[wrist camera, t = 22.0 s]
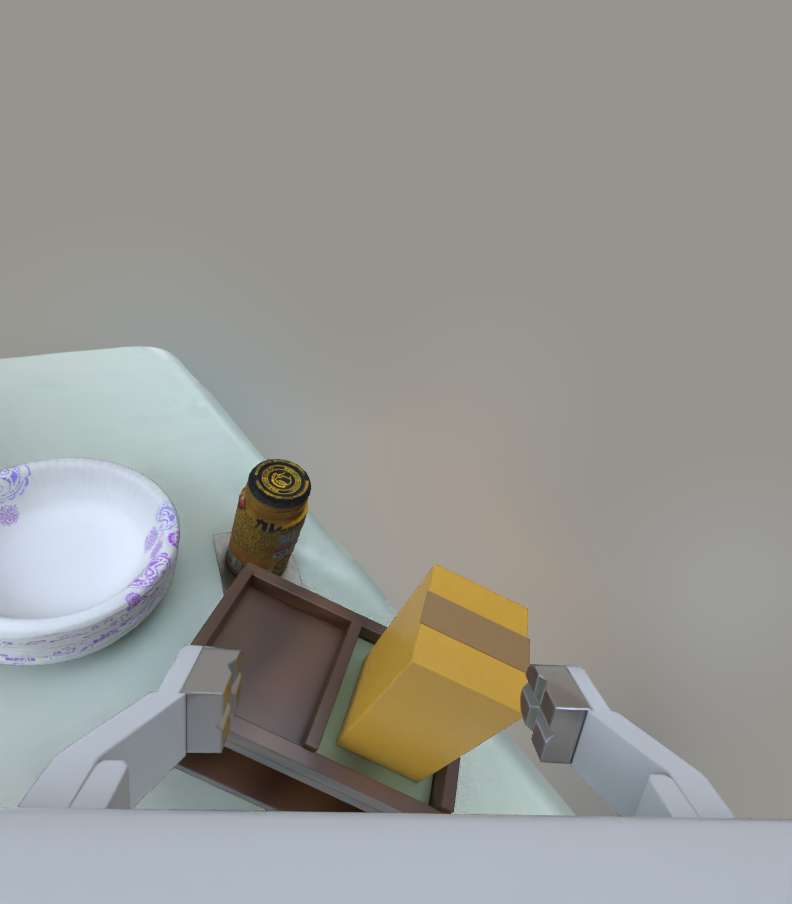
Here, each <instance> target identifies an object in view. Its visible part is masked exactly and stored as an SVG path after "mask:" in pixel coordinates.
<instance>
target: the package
mask: <svg viewBox="0 0 792 904" xmlns="http://www.w3.org/2000/svg"><path fill="white" fill-rule="evenodd" d="M527 635H528V608H526V607H524V606H522V605H520V604H518V603H516V602H513V601H511V600H510V599H507V598H505V597H503V596H501V595H499V594H497V593H495V592H493V591H491V590H489V589H487V588H485V587H482V586H480V585H478V584H476V583H474V582H472V581H470V580H468V579H466V578H464V577H462V576H459V575H458V574H455V573H453V572H451V571H449V570H447V569H445V568H443V567H441V566H439V565H437V564H435V565H434V566H433V567H432V569H431V570H430V572H429V573H428V574H427V576H426V577H425V578H424V580H423V581H422V582H421V583H420V585H419V586H418V587H417V589H416V590H415V592H414V593H413V594H412V596H411V597H410V598H409V600H408V601H407V602H406V603H405V605H404V606H403V607H402V609H401V610H400V611H399V613H398V614H397V616H396V617H395V618H394V620H393V621H392V622H391V624H390V625H389V626H388V628H387V629H386V630H385V632H384V633H383V634H382V636H381V637H380V638H379V640H378V641H377V642H376V644H375V645H374V646H373V648H372V649H371V650H370V652H369V653H368V654H367V656H366V657H365V658H364V660H363V663H362V666H361V669H360V672H359V675H358V678H357V681H356V684H355V687H354V690H353V693H352V696H351V699H350V702H349V705H348V708H347V711H346V714H345V717H344V720H343V724H342V727H341V730H340V733H339V736H338V739H337V742H336V745H338V746H340V747H342V748H344V749H346V750H349V751H351V752H353V753H355V754H357V755H359V756H361V757H363V758H366V759H368V760H370V761H372V762H374V763H376V764H378V765H381V766H383V767H385V768H387V769H389V770H391V771H393V772H396V773H398V774H400V775H402V776H404V777H406V778H408V779H410V780H413V781H415V782H417V783H419V782H421V781H422V780H424V779H426V778H427V777H429V776H430V775H432V774H434V773H435V772H437V771H438V770H440V769H441V768H443V767H445V766H446V765H448V764H449V763H451V762H453V761H454V760H456V759H457V758H459V757H460V756H462V755H464V754H465V753H467V752H468V751H470V750H472V749H473V748H475V747H476V746H478V745H480V744H481V743H483V742H484V741H486V740H487V739H489V738H491V737H492V736H494V735H495V734H497V733H499V732H500V731H502V730H503V729H505V728H506V727H508V726H510V725H511V724H512V723H514V722H516V721H517V720H519V719H520V718H522V713H521V709H520V696H521V691H522V688H523V687H524V686H525V685H526V684H527V678H526V676H525V675H526V671H527V668H528V667H529V665H530V664H529V663H530V658H529V657H530V639H528V638H527Z"/></svg>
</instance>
